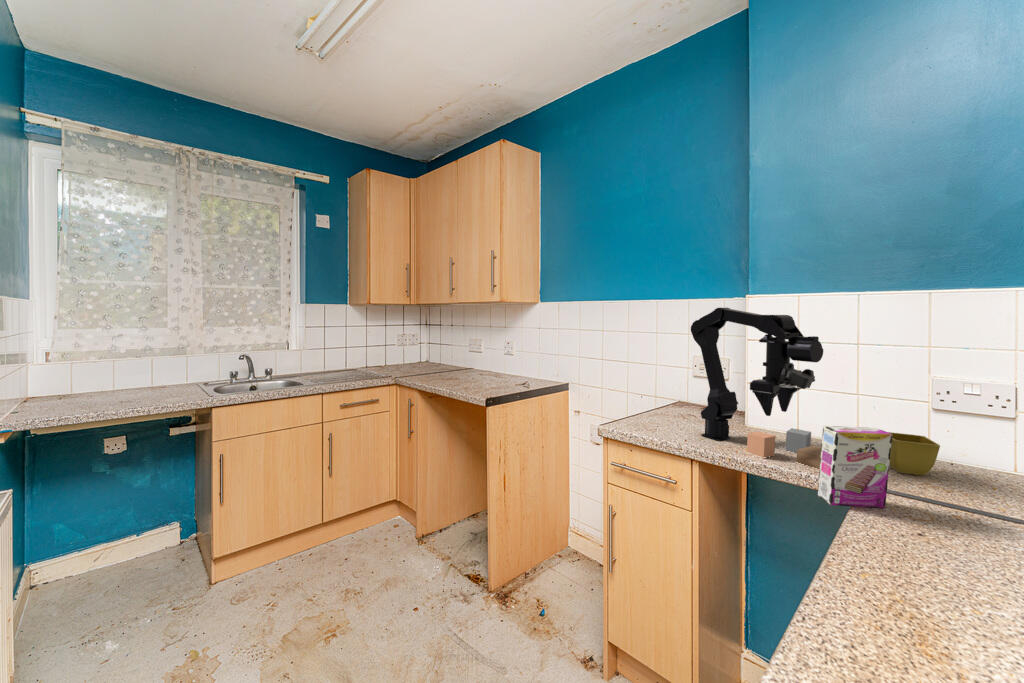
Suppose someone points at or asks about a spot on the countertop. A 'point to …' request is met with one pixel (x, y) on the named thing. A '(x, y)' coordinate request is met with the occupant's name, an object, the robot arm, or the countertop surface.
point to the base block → (809, 456)
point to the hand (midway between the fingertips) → (776, 413)
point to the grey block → (797, 439)
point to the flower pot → (912, 453)
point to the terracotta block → (761, 444)
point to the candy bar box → (854, 466)
